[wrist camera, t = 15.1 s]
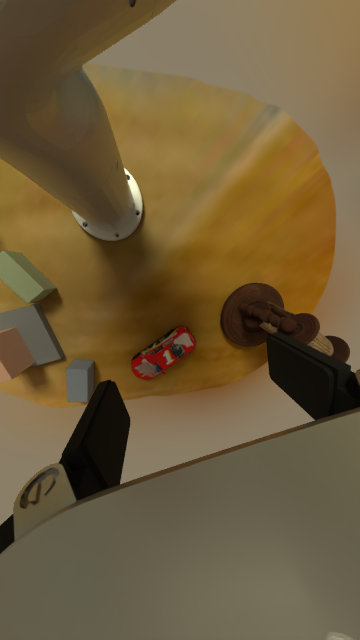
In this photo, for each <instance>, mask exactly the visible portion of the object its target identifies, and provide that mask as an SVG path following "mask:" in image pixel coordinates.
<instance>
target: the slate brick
mask: <svg viewBox="0 0 360 640" xmlns="http://www.w3.org/2000/svg"><path fill="white" fill-rule="evenodd" d="M66 374H67V400H68V402H88V400H89V398H90V396H91V395H92V393H93V391H94V360H74V361H73V362H72V363H71V364H70V365H69V366H68V368H67V369H66Z"/></svg>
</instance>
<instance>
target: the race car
mask: <svg viewBox="0 0 360 640" xmlns="http://www.w3.org/2000/svg"><path fill="white" fill-rule="evenodd" d="M195 345H196V341H195V338H194V336H193V335H192V333H191V332H190V331H189V330H188V328H187V327H184V326H180V327H177V328H175V329H172V330H171V331H170V332H168V333H167V336H166V335H164V336H163V337H161V338H160V339H158V340H157V341H156V342H154V343H153V344H151V345H150V346H148V347H147V348H146V349H144V350H143V351H141V353H138V354H137V355H135V356H134V357H133V359H132V361H131V368H132V371H133V373H134V374H135V375H136V376H137V377H138V378H141V379H145V380H149V379H152V378H153V377H155V376H156V375H158V374H160V373H161V372H162V373H164V374H165V372H164V371H165V370H166V369H167V368H169V367H170V366H172V365H173V364H174V363H176V362H177V361H178V360H180V359H181V358H183V357H184V356H186V355H187V354H188V353H190V352H191V351H192V350H193V349H194V348H195Z"/></svg>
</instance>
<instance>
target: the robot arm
mask: <svg viewBox="0 0 360 640" xmlns="http://www.w3.org/2000/svg"><path fill="white" fill-rule="evenodd" d="M175 1H176V0H0V158H1V159H2V160H4V161H5V162H7V163H8V164H10V165H11V166H13V167H14V168H16V169H17V170H18V171H20V172H21V173H23V174H24V175H25V176H27V177H28V178H29V179H31V180H32V181H34V182H35V183H36V184H37V185H39V186H40V187H41V188H43V189H44V190H45V191H47V192H48V193H50V194H51V195H52V196H54V197H55V198H56V199H58V200H59V201H60V202H62V203H63V204H64V205H66V206H67V207H68V208H70V210H71V212H72V214H73V216H74V218H75V219H76V221H77V222H78V224H79V225H80V226H81V227H82V228H83V229H84V230H85V231H87V232H88V233H89V234H91V235H92V236H94V237H96V238H99V239H101V240H105V241H119V240H122V239H125V238H127V237H128V236H130V235H131V234H132V233H133V232H134V231H135V230H136V229H137V227H138V225H139V224H140V221H141V218H142V213H143V202H142V196H141V192H140V189H139V187H138V185H137V183H136V181H135V179H134V178H133V176H132V175H131V174H130V173H129V172H128V171H127V170H126V169H125V168H124V167H123V163H122V160H121V157H120V154H119V151H118V147H117V144H116V141H115V138H114V135H113V131H112V128H111V125H110V122H109V119H108V116H107V113H106V110H105V108H104V105H103V103H102V101H101V99H100V97H99V95H98V93H97V91H96V89H95V87H94V86H93V84H92V82H91V80H90V79H89V77H88V76H87V74H86V73H85V72H84V70H83V69H82V65H83V64H85V63H86V62H88V61H89V60H91V59H92V58H94V57H95V56H97V55H98V54H100V53H101V52H103V51H105V50H106V49H108V48H109V47H111V46H112V45H114V44H115V43H117V42H118V41H120V40H121V39H123V38H124V37H126V36H127V35H128V34H130V33H132V32H133V31H135V30H136V29H138V28H140V27H141V26H142V25H144V24H146V23H147V22H149V21H150V20H151V19H153V18H154V17H155V16H157V15H159V14H160V13H161V12H163V11H164V10H165V9H166V8H168V7H169V6H170V5H171V4H172V3H174V2H175ZM127 179H130V180H127ZM137 213H139V215H138V216H137V215H136V214H137ZM86 225H88V226H87V227H86ZM117 235H119V237H116V236H117ZM266 343H267V354H268V364H269V375H270V377H271V379H272V380H273V381H274V382H275V383H276V384H277V385H278V386H279V387H280V388H281V389H282V390H283V391H284V392H286V393H287V394H288V395H289V396H290V397H291V398H292V399H293V400H294V401H295V402H296V403H297V404H299V406H301V407H302V408H303V409H304V410H305V411H306V412H307V413H308V414H309V415H310V416H311V417H312V418H313V419H315V421H312V422H309V423H306V424H303V425H300V426H297V427H294V428H290V429H287V430H284V431H281V432H278V433H275V434H271V435H268V436H265V437H262V438H259V439H256V440H253V441H250V442H247V443H243V444H241V445H237V446H234V447H231V448H228V449H225V450H222V451H219V452H216V453H213V454H210V455H206V456H203V457H200V458H198V459H195V460H192V461H188V462H185V463H182V464H179V465H176V466H173V467H170V468H167V469H164V470H161V471H158V472H155V473H152V474H149V475H146V476H143V477H140V478H137V479H135V480H132V481H129V482H126V483H123V484H120V479H121V474H122V468H123V462H124V457H125V451H126V445H127V439H128V434H129V428H130V417H129V414H128V412H127V409H126V407H125V404H124V402H123V400H122V397H121V395H120V393H119V390H118V388H117V385H116V383H115V382H114V381H113V382H112V381H111V380H107V381H103V382H100V383H99V384H98V386H97V388H96V390H95V392H94V394H93V395H92V397H91V399H90V401H89V403H88V405H87V407H86V409H85V411H84V413H83V415H82V417H81V419H80V420H79V422H78V424H77V426H76V428H75V430H74V432H73V434H72V436H71V438H70V440H69V442H68V443H67V445H66V447H65V449H64V451H63V453H62V458H61V459H60V461H59V463H55V464H51V465H49V466H47V467H45V468H43V469H42V470H40V471H39V472H38V473H36V475H34V476H33V477H32V478H31V479H30V480H29V481H28V482H27V483H26V485H25V486H24V487H23V488H22V490H21V491H20V493H19V494H18V496H17V498H16V500H15V502H14V508H13V514H12V515H11V516H10V517H9V518H8V519H7V520H6V521H5V522H4V523H3V524H2V525H1V526H0V640H360V369H359V370H357V371H356V373H354V372H352V371H351V366H350V365H348V364H346V363H344V362H342V361H339V360H337V359H335V358H333V357H331V356H329V355H327V354H325V353H323V352H321V351H319V350H317V349H314V348H312V347H310V346H308V345H306V344H304V343H302V342H300V341H298V340H296V339H294V338H292V337H289V336H287V335H285V334H283V333H281V332H276V333H272V334H269V335H268V337H267V338H266Z"/></svg>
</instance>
